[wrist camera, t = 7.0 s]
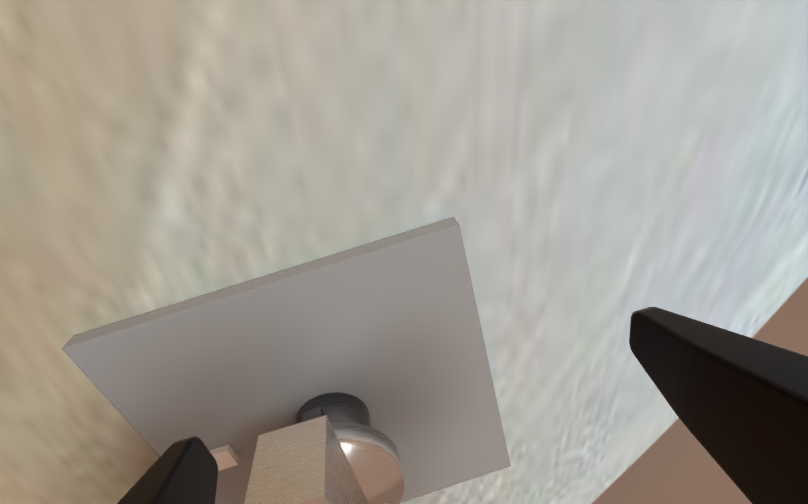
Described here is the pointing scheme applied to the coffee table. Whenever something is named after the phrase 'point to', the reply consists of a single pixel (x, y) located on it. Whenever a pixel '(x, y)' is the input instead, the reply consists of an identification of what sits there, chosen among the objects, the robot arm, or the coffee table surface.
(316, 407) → the dark grey rounded piece
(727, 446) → the robot arm
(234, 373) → the base plate
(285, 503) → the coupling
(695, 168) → the coffee table surface
